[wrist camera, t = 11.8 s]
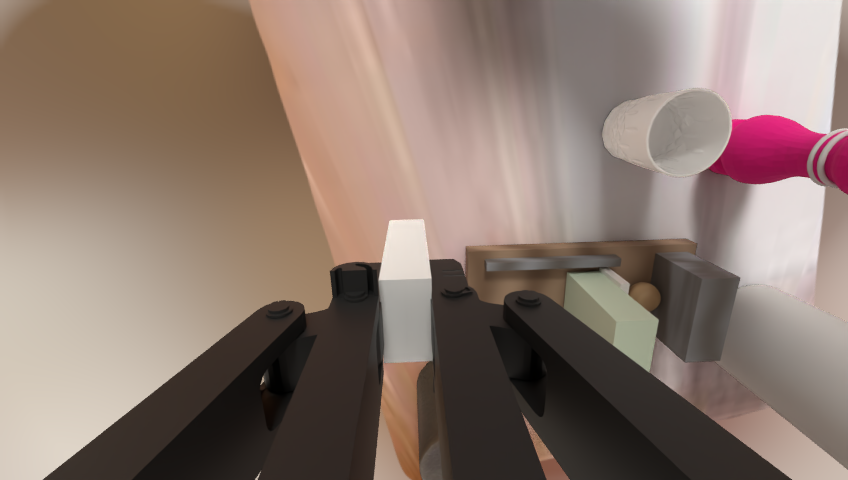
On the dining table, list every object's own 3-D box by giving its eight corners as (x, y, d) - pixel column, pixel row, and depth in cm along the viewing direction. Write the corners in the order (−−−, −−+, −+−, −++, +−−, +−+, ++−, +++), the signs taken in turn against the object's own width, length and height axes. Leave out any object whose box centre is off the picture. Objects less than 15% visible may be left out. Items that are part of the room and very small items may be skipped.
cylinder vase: (743, 265, 51) (1036, 398, 27) (807, 309, 53) (1127, 466, 29) (677, 338, 54) (889, 514, 30) (740, 376, 56) (983, 568, 33)
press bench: (465, 331, 52) (477, 379, 43) (465, 246, 49) (479, 278, 39) (670, 322, 53) (727, 368, 44) (686, 238, 49) (752, 268, 40)
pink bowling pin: (752, 174, 47) (984, 214, 28) (693, 180, 47) (885, 224, 28) (763, 112, 45) (1022, 110, 26) (701, 118, 45) (915, 120, 26)
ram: (562, 319, 50) (608, 380, 38) (567, 268, 48) (617, 316, 36) (601, 317, 50) (658, 378, 38) (607, 266, 48) (670, 314, 36)
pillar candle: (419, 352, 53) (422, 440, 39) (490, 355, 54) (518, 444, 39) (414, 409, 56) (415, 511, 42) (481, 412, 57) (504, 514, 43)
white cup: (676, 106, 45) (749, 104, 35) (644, 173, 47) (704, 188, 37) (614, 84, 44) (672, 75, 34) (585, 153, 46) (631, 163, 36)
